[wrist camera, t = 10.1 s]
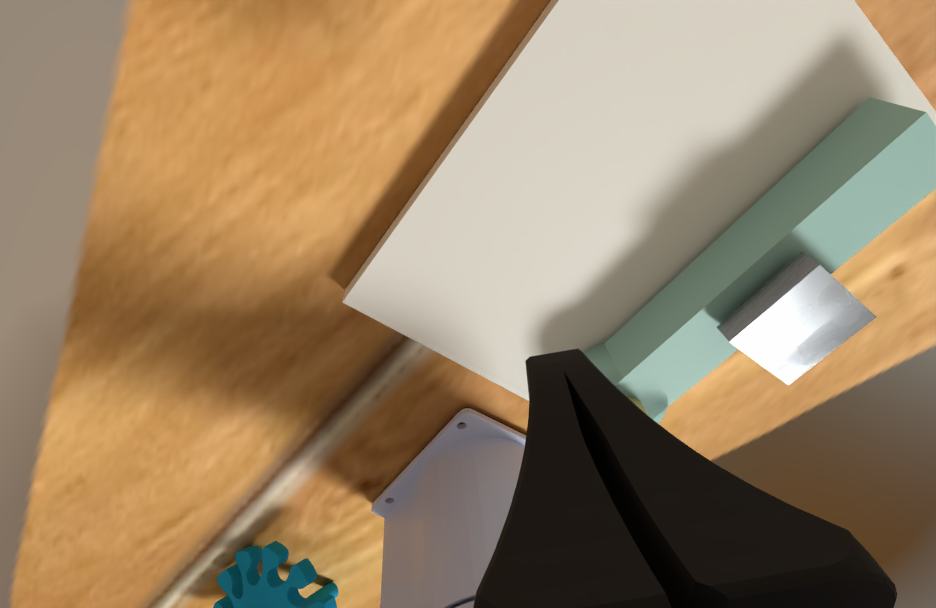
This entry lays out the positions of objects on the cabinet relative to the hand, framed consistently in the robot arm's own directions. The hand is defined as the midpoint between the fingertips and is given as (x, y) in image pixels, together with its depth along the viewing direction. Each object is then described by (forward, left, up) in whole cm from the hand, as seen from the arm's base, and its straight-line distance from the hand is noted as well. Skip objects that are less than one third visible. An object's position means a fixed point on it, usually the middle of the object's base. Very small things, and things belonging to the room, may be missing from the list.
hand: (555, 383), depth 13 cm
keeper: (+5, -10, -10) cm, 15 cm away
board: (+4, -5, -10) cm, 12 cm away
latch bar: (+4, -9, -9) cm, 13 cm away
